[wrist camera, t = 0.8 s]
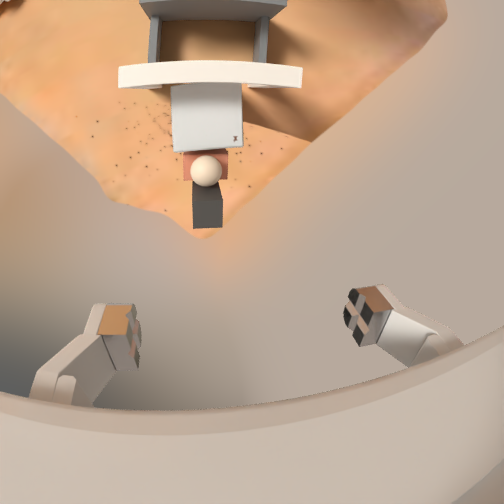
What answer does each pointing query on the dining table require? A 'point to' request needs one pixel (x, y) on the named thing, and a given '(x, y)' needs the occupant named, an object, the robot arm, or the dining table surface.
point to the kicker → (206, 185)
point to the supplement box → (206, 116)
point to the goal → (210, 71)
